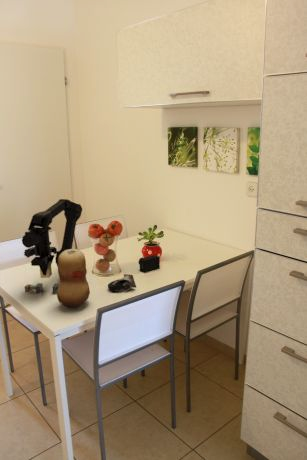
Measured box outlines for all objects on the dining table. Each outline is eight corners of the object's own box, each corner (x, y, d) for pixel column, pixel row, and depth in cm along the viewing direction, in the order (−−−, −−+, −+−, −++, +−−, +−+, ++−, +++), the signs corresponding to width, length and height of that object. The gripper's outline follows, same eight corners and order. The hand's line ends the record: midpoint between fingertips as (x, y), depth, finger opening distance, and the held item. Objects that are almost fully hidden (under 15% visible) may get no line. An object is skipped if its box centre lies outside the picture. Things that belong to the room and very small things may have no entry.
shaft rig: (23, 293, 181) (22, 286, 180) (26, 289, 186) (26, 282, 185) (69, 294, 180) (69, 286, 179) (72, 290, 184) (71, 282, 183)
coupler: (43, 274, 183) (42, 261, 181) (51, 274, 182) (50, 261, 181) (40, 277, 179) (39, 264, 177) (49, 277, 179) (48, 264, 177)
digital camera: (153, 266, 214) (153, 254, 212) (159, 268, 210) (159, 256, 208) (138, 270, 208) (137, 258, 206) (144, 273, 204) (143, 260, 202)
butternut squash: (66, 315, 159) (61, 258, 153) (53, 304, 170) (48, 250, 163) (96, 306, 167) (92, 251, 161) (82, 296, 178) (78, 243, 171)
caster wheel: (107, 294, 185) (122, 285, 191) (122, 296, 177) (137, 287, 183) (102, 282, 183) (118, 273, 190) (117, 283, 175) (133, 274, 182)
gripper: (32, 235, 185) (36, 266, 190) (17, 247, 168) (21, 281, 172) (55, 235, 185) (58, 266, 189) (43, 247, 167) (46, 281, 171)
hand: (46, 273), depth 180 cm, fingers closed on coupler, 4 cm apart
